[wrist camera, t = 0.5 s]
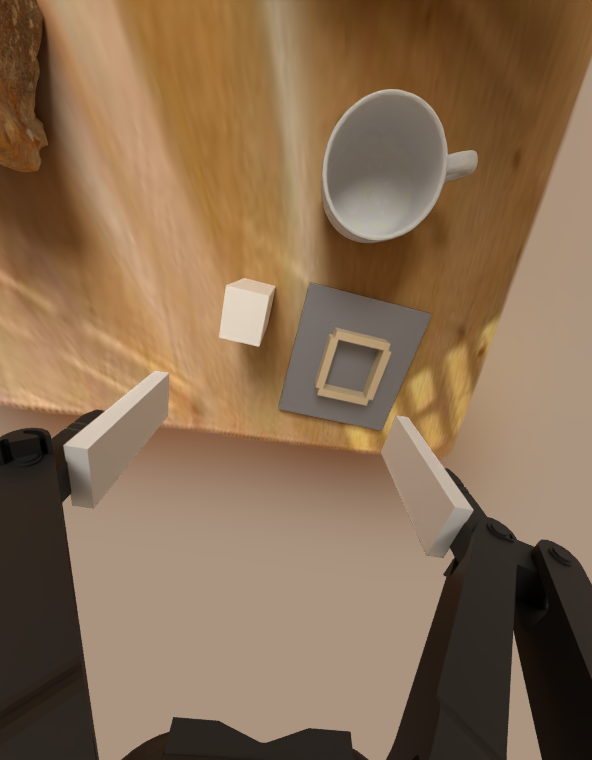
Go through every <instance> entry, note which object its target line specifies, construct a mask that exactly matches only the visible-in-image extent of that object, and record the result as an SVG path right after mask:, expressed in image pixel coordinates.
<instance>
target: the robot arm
mask: <svg viewBox="0 0 592 760" xmlns="http://www.w3.org/2000/svg"><path fill="white" fill-rule="evenodd" d="M168 396H169V373H166V372H160V371H154V372H153V373H151V374H150V375H149V376H148V377H146V378H145V379H144V380H143V381H142V382H140V383H139V384H138V385H137V386H135V387H134V388H133V389H132V390H130V391H129V392H128V393H127V394H126V395H124V396H123V397H122V398H121V399H119V400H118V401H117V402H116V403H115V404H113V405H112V406H111V407H110V408H108V409H107V410H106V411H102V410H94V411H92V412H89V413H87V414H84V415H83V416H81V417H80V418H79V419H77V420H76V421H75V422H74V423H72V424H71V425H69V426H68V427H67V429H64V430H63V431H61V432H60V433H59V434H57V435H56V436H55V437H53V438H52V439H51V435H50V433H49V432H48V431H47V430H44V429H41V428H26V429H20V430H16V431H12V432H10V433H7V434H5V435H3V436H2V437H0V760H99V757H98V750H97V743H96V737H95V731H94V725H93V717H92V710H91V703H90V696H89V689H88V682H87V675H86V668H85V661H84V654H83V647H82V640H81V633H80V625H79V619H78V611H77V604H76V597H75V591H74V583H73V576H72V569H71V562H70V555H69V548H68V541H67V534H66V527H65V520H64V513H63V506H62V502H63V501H64V500H65V499H66V498H67V497H68V496H69V495H70V494H71V500H72V505H73V506H80V507H87V508H95V507H96V505H97V504H98V503H99V501H100V500H101V499H102V498H103V496H104V495H105V494H106V492H107V491H108V490H109V489H110V488H111V486H112V485H113V484H114V483H115V481H116V480H117V479H118V478H119V476H120V475H121V474H122V472H123V471H124V470H125V469H126V468H127V466H128V465H129V464H130V462H131V461H132V460H133V459H134V458H135V456H136V455H137V454H138V453H139V451H140V450H141V449H142V448H143V446H144V445H145V444H146V443H147V441H148V440H149V439H150V438H151V436H152V435H153V434H154V433H155V431H156V430H157V429H158V428H159V426H160V425H161V424H162V422H163V421H164V420H165V419H166V417H167V416H168ZM381 454H382V456H383V458H384V461H385V463H386V465H387V468H388V470H389V472H390V474H391V477H392V479H393V481H394V483H395V486H396V488H397V490H398V492H399V495H400V497H401V499H402V501H403V504H404V506H405V508H406V511H407V513H408V515H409V517H410V520H411V522H412V524H413V526H414V529H415V531H416V534H417V536H418V538H419V540H420V543H421V545H422V547H423V549H424V552H425V554H426V555H427V556H434V557H441V558H444V556H445V555H446V553H447V552H448V550H449V548H450V549H451V551H452V552H453V554H454V556H455V558H454V559H453V560H452V562H451V564H450V565H449V567H448V568H447V570H446V571H445V573H444V576H447V577H446V580H445V584H444V586H443V590H442V593H441V596H440V599H439V602H438V606H437V609H436V612H435V615H434V619H433V622H432V625H431V628H430V631H429V634H428V637H427V641H426V644H425V647H424V650H423V653H422V656H421V659H420V663H419V666H418V669H417V672H416V675H415V678H414V682H413V685H412V688H411V691H410V694H409V698H408V701H407V704H406V707H405V710H404V713H403V717H402V720H401V723H400V726H399V729H398V733H397V736H396V739H395V741H394V744H393V746H392V749H391V751H390V753H389V755H388V757H387V759H386V760H507V755H506V754H507V736H508V718H509V698H510V681H511V661H512V643H513V631H514V635H515V640H516V644H517V649H518V653H519V657H520V662H521V667H522V671H523V676H524V680H525V684H526V689H527V693H528V698H529V703H530V707H531V712H532V716H533V721H534V725H535V730H536V735H537V739H538V743H539V748H540V753H541V757H542V760H592V584H591V582H590V580H589V578H588V577H587V575H586V573H585V571H584V569H583V567H582V565H581V564H580V563H579V561H578V560H577V559H576V558H575V557H574V556H573V555H572V554H571V553H570V552H569V551H568V550H566V549H565V548H563V547H562V546H560V545H558V544H556V543H554V542H552V541H549V540H541V541H539V542H538V544H537V545H536V546H535V547H533V546H531V545H528V544H526V543H524V542H521V541H519V540H517V539H516V537H515V536H514V534H513V533H512V532H511V531H510V530H509V529H508V528H507V527H506V526H505V525H503V524H501V523H500V522H499V521H497V520H495V519H493V518H489V517H487V516H486V515H485V513H484V512H483V511H482V509H481V508H480V506H479V505H478V504H477V502H476V501H475V500H474V498H473V497H472V496H471V494H469V492H468V490H467V489H466V488H465V487H464V485H463V483H462V482H461V481H460V479H459V478H458V477H457V476H456V475H455V474H454V473H453V472H451V471H450V470H449V469H446V468H444V467H443V466H442V465H441V463H440V462H439V460H438V459H437V457H436V456H435V455H434V453H433V452H432V450H431V449H430V448H429V446H428V445H427V443H426V442H425V440H424V439H423V438H422V436H421V435H420V433H419V432H418V431H417V429H416V428H415V426H414V425H413V423H412V422H411V421H410V419H409V418H408V417H403V416H398V415H396V416H395V419H394V421H393V424H392V426H391V429H390V431H389V434H388V436H387V438H386V441H385V443H384V446H383V448H382V451H381ZM122 760H368V759H367V758H366V757H364V756H363V755H362V754H360V753H359V752H358V751H356V750H355V749H352V742H351V732H348V731H336V730H324V729H311V728H308V729H305V730H302V731H299V732H297V733H294V734H291V735H288V736H285V737H282V738H279V739H276V740H273V741H270V742H267V743H260V742H258V741H256V740H254V739H252V738H250V737H248V736H247V735H245V734H243V733H241V732H239V731H237V730H235V729H233V728H231V727H229V726H227V725H225V724H224V723H222V722H220V721H213V720H202V719H189V718H177V717H173V720H172V724H171V728H170V732H167V733H164V734H161V735H159V736H156V737H154V738H152V739H150V740H148V741H146V742H145V743H143V744H141V745H140V746H138V747H137V748H135V749H134V750H132V751H131V752H130V753H129V754H128V755H126V756H125V757H124V758H123V759H122Z"/></svg>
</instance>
